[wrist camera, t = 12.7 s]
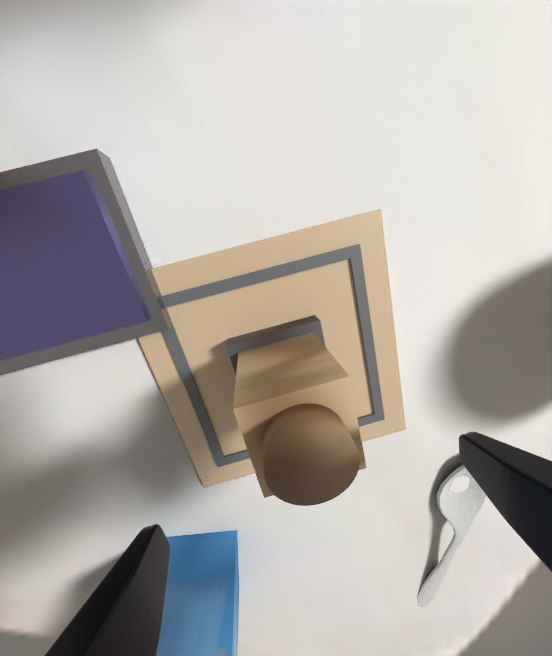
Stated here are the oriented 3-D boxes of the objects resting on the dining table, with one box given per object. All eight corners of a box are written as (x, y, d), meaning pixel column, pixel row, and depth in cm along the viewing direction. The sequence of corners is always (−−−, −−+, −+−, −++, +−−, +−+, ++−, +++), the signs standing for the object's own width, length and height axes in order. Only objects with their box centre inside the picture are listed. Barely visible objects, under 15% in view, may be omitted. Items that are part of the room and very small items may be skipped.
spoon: (490, 441, 19) (512, 458, 18) (434, 617, 25) (447, 641, 23) (440, 444, 19) (458, 462, 17) (394, 623, 24) (405, 648, 23)
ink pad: (109, 157, 11) (92, 145, 10) (174, 323, 14) (166, 330, 12) (-117, 213, 11) (-163, 208, 10) (-11, 373, 13) (-37, 385, 12)
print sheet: (378, 209, 13) (382, 208, 13) (403, 427, 17) (407, 430, 17) (113, 278, 13) (110, 279, 12) (204, 484, 17) (203, 489, 17)
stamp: (314, 314, 14) (380, 376, 7) (330, 390, 16) (398, 503, 9) (227, 338, 14) (207, 424, 7) (252, 413, 16) (255, 545, 8)
